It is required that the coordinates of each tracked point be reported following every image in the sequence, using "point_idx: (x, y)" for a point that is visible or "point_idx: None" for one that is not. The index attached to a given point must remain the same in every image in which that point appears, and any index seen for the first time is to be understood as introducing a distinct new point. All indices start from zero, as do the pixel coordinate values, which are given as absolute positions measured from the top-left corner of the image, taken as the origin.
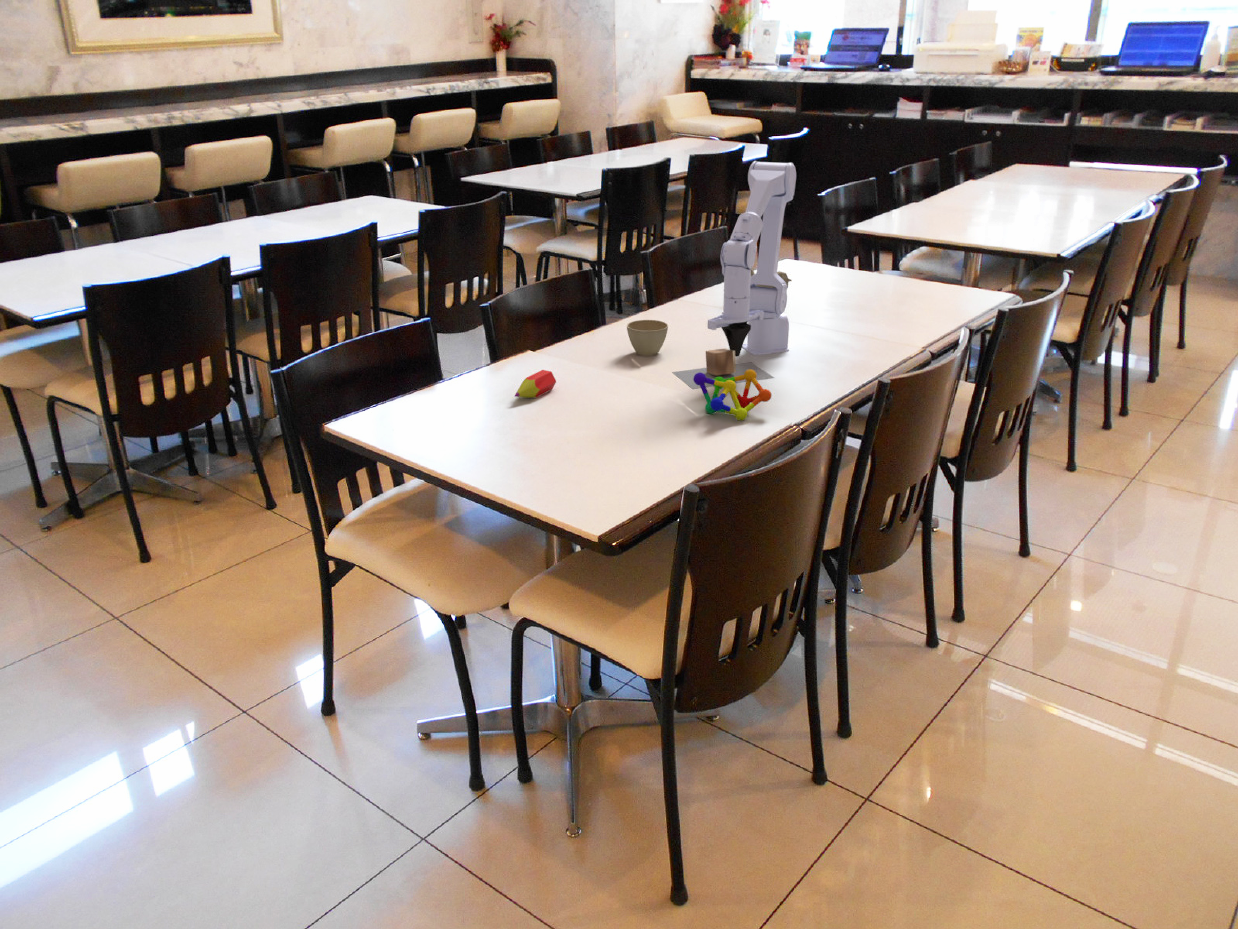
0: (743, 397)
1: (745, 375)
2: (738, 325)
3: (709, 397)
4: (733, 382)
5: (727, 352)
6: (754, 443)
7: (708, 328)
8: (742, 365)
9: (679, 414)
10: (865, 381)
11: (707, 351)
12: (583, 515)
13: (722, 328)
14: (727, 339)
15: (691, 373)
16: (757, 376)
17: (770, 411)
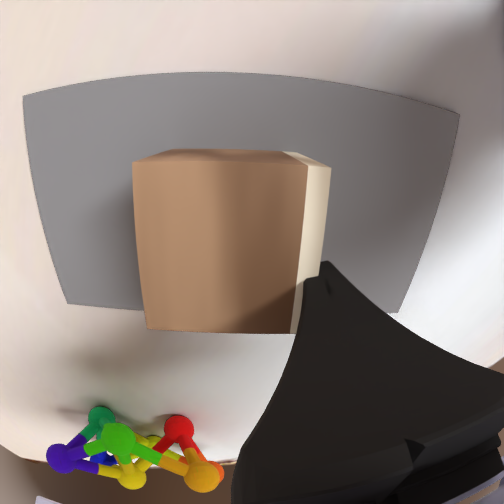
0: (176, 442)
1: (184, 479)
2: (381, 500)
3: (92, 436)
4: (137, 488)
5: (247, 330)
6: (152, 465)
7: (46, 500)
8: (403, 135)
9: (42, 386)
10: (498, 359)
11: (134, 202)
12: (4, 444)
13: (245, 454)
14: (292, 350)
15: (92, 137)
16: (360, 286)
17: (229, 435)
